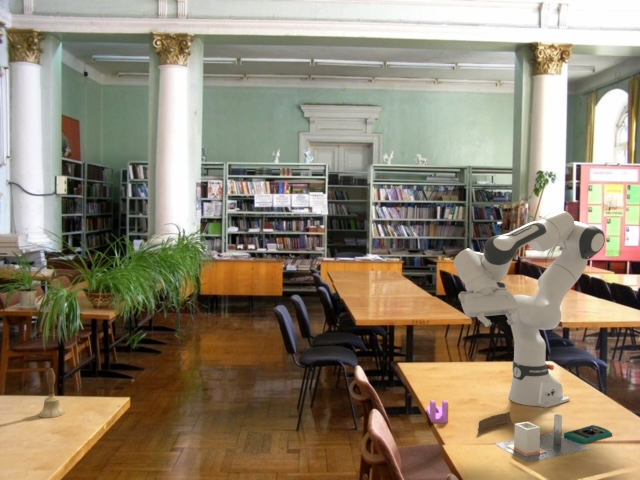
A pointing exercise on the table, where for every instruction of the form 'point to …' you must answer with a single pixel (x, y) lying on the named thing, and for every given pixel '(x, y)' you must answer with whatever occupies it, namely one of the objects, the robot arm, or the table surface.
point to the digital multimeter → (588, 434)
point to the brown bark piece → (495, 421)
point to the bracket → (442, 412)
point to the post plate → (547, 445)
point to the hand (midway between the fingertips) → (500, 324)
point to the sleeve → (527, 437)
